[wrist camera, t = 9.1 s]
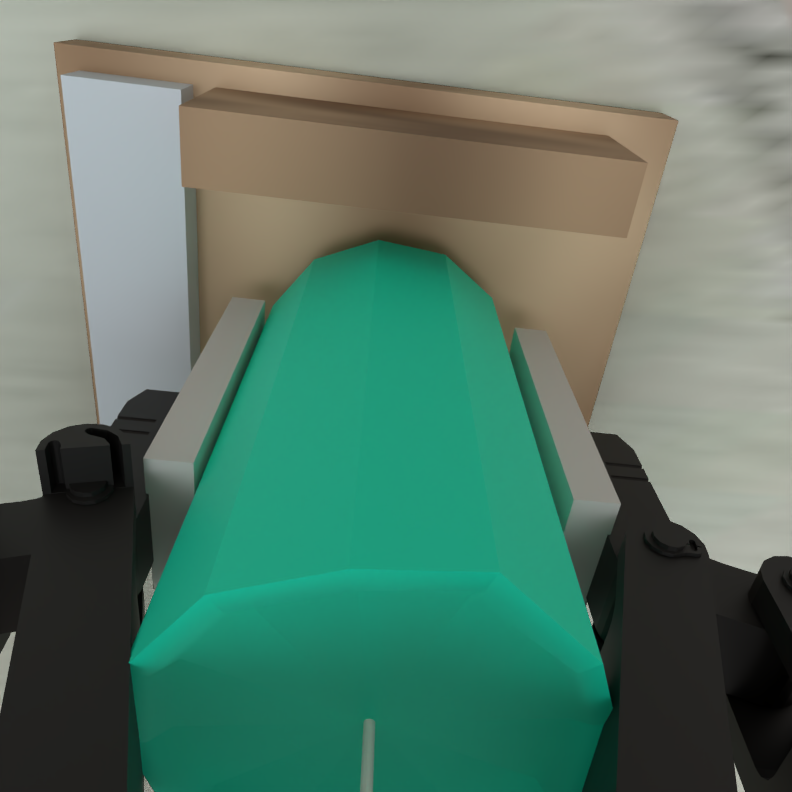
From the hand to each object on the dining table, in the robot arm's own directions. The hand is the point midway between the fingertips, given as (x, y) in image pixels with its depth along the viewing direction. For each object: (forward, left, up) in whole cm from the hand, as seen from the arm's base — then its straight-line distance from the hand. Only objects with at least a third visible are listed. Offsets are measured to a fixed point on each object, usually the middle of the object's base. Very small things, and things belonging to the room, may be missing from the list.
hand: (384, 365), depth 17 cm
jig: (-1, 0, -3) cm, 3 cm away
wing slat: (-6, 0, -2) cm, 7 cm away
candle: (0, 0, -1) cm, 1 cm away
